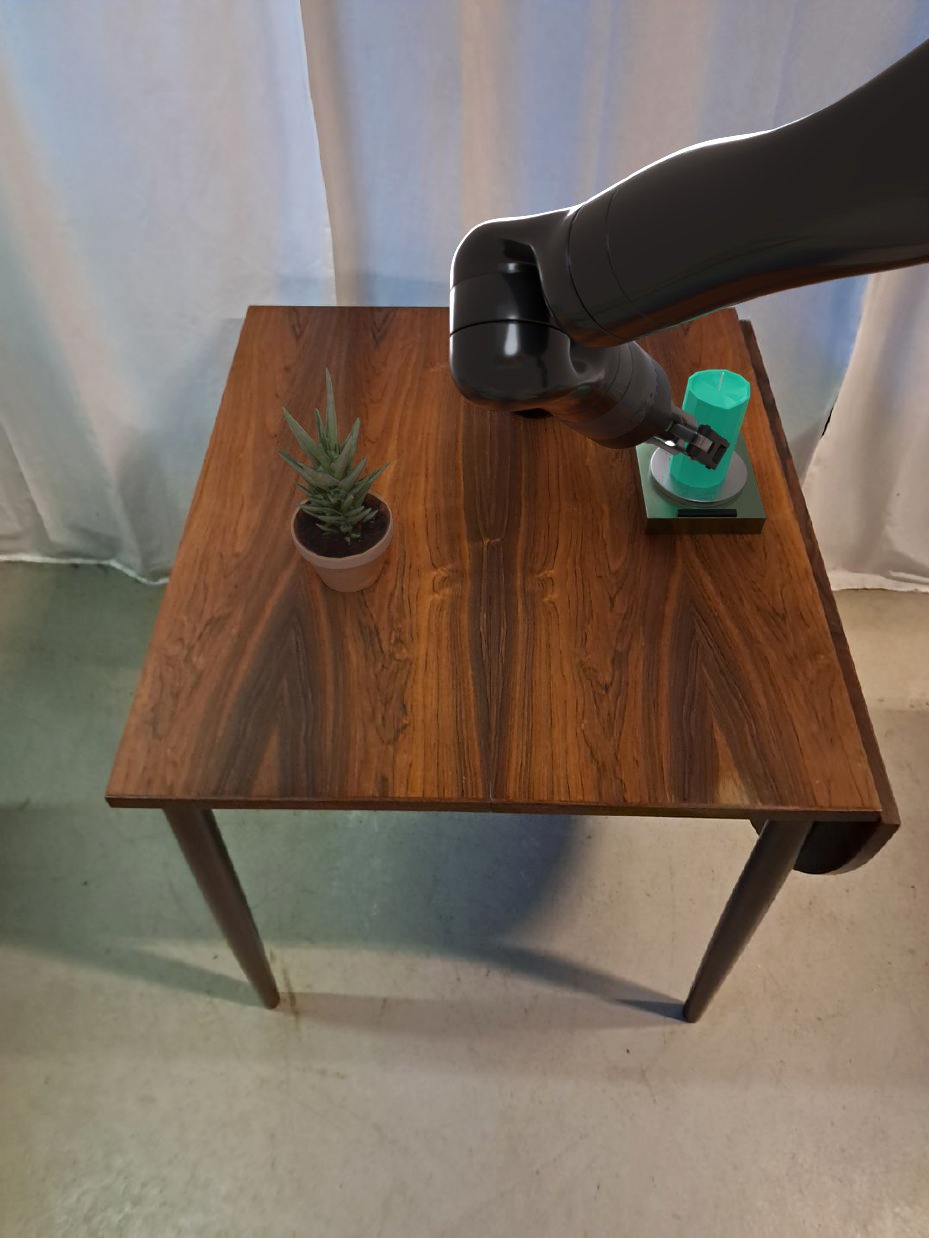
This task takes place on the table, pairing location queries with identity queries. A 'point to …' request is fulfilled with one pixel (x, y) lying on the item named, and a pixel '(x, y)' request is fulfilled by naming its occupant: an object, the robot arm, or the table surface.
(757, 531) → the scale
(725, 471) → the candle
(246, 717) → the table surface
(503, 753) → the table surface
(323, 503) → the potted plant
